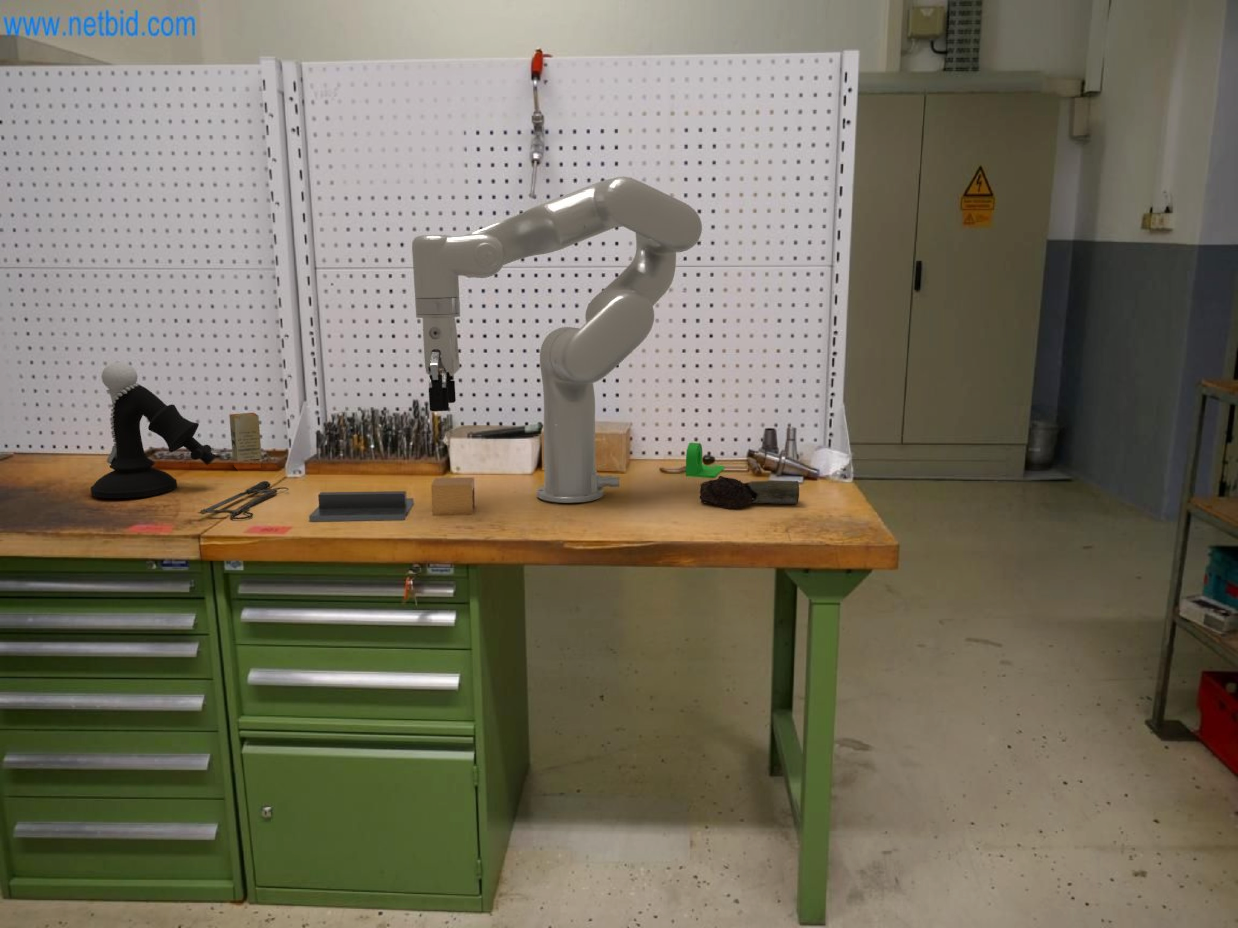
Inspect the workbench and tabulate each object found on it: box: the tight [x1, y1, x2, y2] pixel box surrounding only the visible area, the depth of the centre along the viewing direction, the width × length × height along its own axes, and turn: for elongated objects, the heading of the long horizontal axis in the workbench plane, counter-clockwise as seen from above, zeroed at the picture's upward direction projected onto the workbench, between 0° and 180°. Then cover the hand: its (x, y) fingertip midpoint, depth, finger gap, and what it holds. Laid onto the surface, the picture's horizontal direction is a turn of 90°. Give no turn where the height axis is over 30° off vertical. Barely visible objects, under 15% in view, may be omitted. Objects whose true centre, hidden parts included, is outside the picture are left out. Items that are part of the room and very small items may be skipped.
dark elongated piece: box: [698, 475, 800, 510], centre depth 172 cm, size 18×7×6 cm, turn 87°
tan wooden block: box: [430, 476, 476, 516], centre depth 170 cm, size 7×6×6 cm
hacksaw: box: [197, 480, 289, 520], centre depth 175 cm, size 24×10×1 cm, turn 171°
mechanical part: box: [685, 442, 726, 479], centre depth 198 cm, size 12×6×8 cm, turn 161°
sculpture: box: [90, 361, 217, 499], centre depth 184 cm, size 15×24×25 cm, turn 92°
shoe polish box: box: [228, 412, 263, 461], centre depth 204 cm, size 5×5×12 cm
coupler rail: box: [308, 490, 415, 522], centre depth 169 cm, size 16×12×4 cm
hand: (443, 406), depth 167 cm, fingers open, 9 cm apart
